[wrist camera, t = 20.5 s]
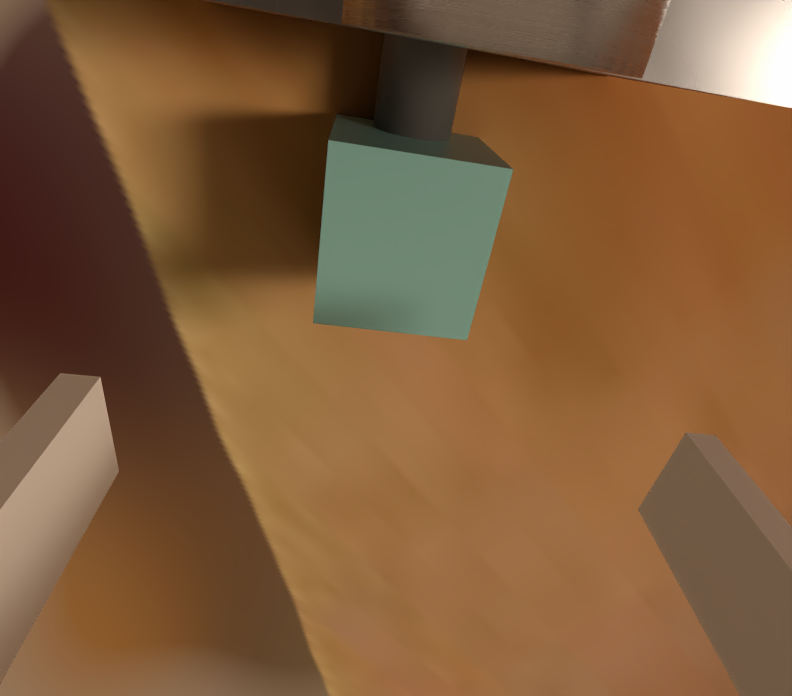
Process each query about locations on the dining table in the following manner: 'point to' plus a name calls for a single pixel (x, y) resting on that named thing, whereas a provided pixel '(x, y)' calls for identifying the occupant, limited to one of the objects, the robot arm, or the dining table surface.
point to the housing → (594, 36)
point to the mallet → (408, 203)
